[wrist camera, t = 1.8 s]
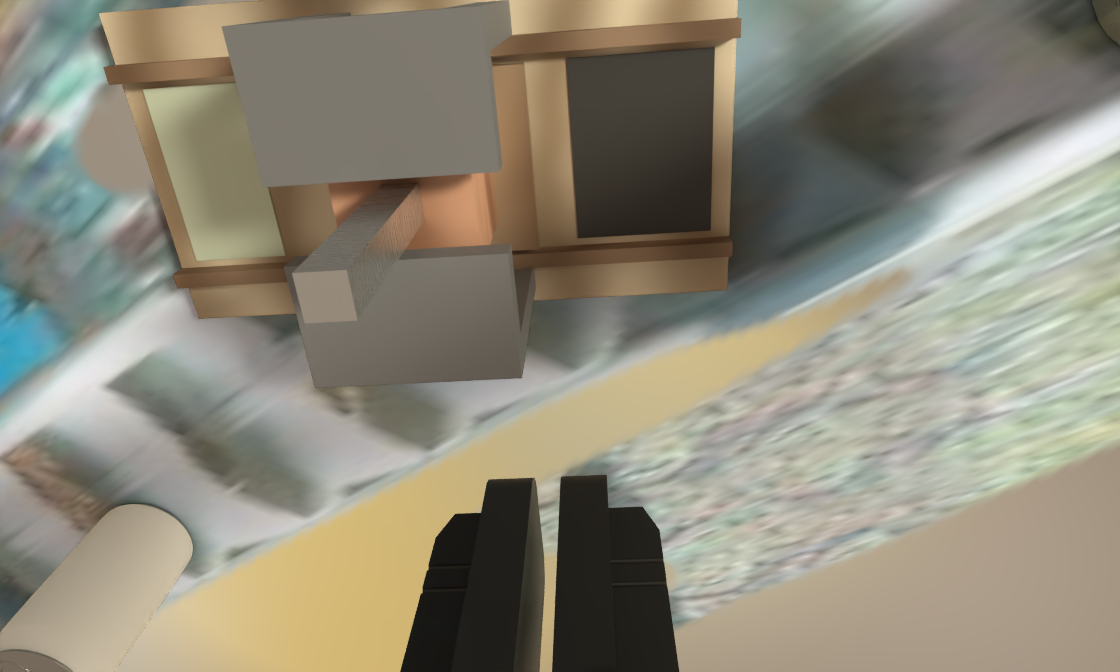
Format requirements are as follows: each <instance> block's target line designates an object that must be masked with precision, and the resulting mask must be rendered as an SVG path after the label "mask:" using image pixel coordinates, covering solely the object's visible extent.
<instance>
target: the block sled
mask: <svg viewBox="0 0 1120 672" xmlns="http://www.w3.org/2000/svg"><path fill="white" fill-rule="evenodd" d="M492 70H493V80H494V89H495V98H496V108H497V117H498V126H499V136H500V145H501V155H502V164H503V165H502V167H501V169H500V172H492V173H477V174H461V175H446V176H431V177H415V178H400V179H385V180H369V181H354V182H338V183H328V188H329V192H330V197H331V201H332V206H333V211H334V215H335V220H336V224H337V229H336V230H335V231H334V232H333V233H332V234H331V235H330V236H329V237H328V238H327V239H326V240H325V241H324V242H323V243H322V244H321V245H320V246H319V247H318V248H317V249H316V250H315V251H314V252H313V253H312V254H311V255H310V256H309V257H308V258H307V259H306V260H305V261H304V262H303V263H302V264H301V265H300V266H299V267H298V268H297V269H296V270H295V271H294V272H293V273H292V275H293V279H294V283H295V287H296V291H297V295H298V299H299V303H300V307H301V311H302V315H303V319H304V322H305V323H322V322H341V321H358V319H359V318H360V316H361V315H362V313H363V312H364V310H365V309H366V307H367V306H368V304H369V303H370V301H371V300H372V298H373V297H374V295H375V294H376V292H377V291H378V289H379V288H380V286H381V285H382V283H383V282H384V280H385V279H386V277H387V276H388V274H389V273H390V271H391V270H392V268H393V267H394V265H395V264H396V262H397V261H398V259H399V258H400V256H401V255H402V253H403V252H404V250H410V249H427V248H444V247H461V246H478V245H495V244H511V248H512V251H521V250H538V249H539V248H540V234H539V222H538V211H537V200H536V188H535V177H534V165H533V154H532V143H531V131H530V120H529V109H528V97H527V86H526V74H525V63H524V62H519V63H505V64H492Z"/></svg>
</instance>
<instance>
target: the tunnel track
mask: <svg viewBox="0 0 1120 672" xmlns="http://www.w3.org/2000/svg"><path fill="white" fill-rule="evenodd" d="M737 3H738V0H259V1H247V2H235V3H221V4H209V5H197V6H184V7H172V8H159V9H147V10H135V11H122V12H110V13H99V15H100V18H101V21H102V24H103V27H104V31H105V34H106V37H107V40H108V43H109V46H110V49H111V52H112V55H113V58H114V61H115V64H116V65H113V66H107V67H104V70H105V73H106V76H107V79H108V82H109V85H113V84H122V86H123V89H124V92H125V95H126V98H127V101H128V104H129V107H130V110H131V113H132V116H133V119H134V122H135V125H136V128H137V131H138V134H139V138H140V141H141V144H142V147H143V150H144V153H145V156H146V159H147V162H148V165H149V168H150V171H151V174H152V177H153V180H154V183H155V186H156V189H157V193H158V196H159V199H160V202H161V205H162V208H163V211H164V214H165V217H166V220H167V223H168V226H169V229H170V232H171V235H172V238H173V241H174V245H175V248H176V251H177V254H178V257H179V260H180V263H181V266H182V269H180V270H179V271H178V272H176V273H175V274H173V277H174V280H175V282H176V285H177V288H189V290H190V293H191V296H192V300H193V303H194V306H195V309H196V312H197V315H198V318H199V319H204V318H222V317H241V316H259V315H278V314H296V316H297V320H298V324H299V327H300V331H301V335H302V339H303V343H304V347H305V351H306V354H307V358H308V362H309V366H310V370H311V374H312V378H313V381H314V385H315V388H325V387H346V386H367V385H388V384H408V383H429V382H450V381H471V380H491V379H512V378H522V374H523V367H524V361H525V354H526V348H527V341H528V335H529V329H530V322H531V316H532V309H533V303H534V301H535V300H554V299H572V298H590V297H609V296H627V295H646V294H664V293H682V292H701V291H719V290H727V285H728V257H732V250H733V242H732V240H731V238H730V237H729V228H730V200H731V172H732V144H733V115H734V87H735V59H736V38H741V18H737ZM519 62H524V63H525V74H526V86H527V97H528V109H529V120H530V131H531V143H532V154H533V165H534V177H535V188H536V200H537V211H538V222H539V234H540V248H539V249H538V250H521V251H512V248H511V244H495V245H478V246H461V247H444V248H427V249H410V250H404V252H403V253H402V255H401V256H400V258H399V259H398V261H397V262H396V264H395V265H394V267H393V268H392V270H391V271H390V273H389V274H388V276H387V277H386V279H385V280H384V282H383V283H382V285H381V286H380V288H379V289H378V291H377V292H376V294H375V295H374V297H373V298H372V300H371V301H370V303H369V304H368V306H367V307H366V309H365V310H364V312H363V313H362V315H361V316H360V318H359V319H358V321H341V322H322V323H305V322H304V319H303V315H302V311H301V307H300V303H299V299H298V295H297V291H296V287H295V283H294V279H293V275H292V273H293V272H294V271H295V270H296V269H297V268H298V267H299V266H300V265H301V264H302V263H303V262H304V261H305V260H306V259H307V258H308V257H309V256H310V255H311V254H312V253H313V252H314V251H315V250H316V249H317V248H318V247H319V246H320V245H321V244H322V243H323V242H324V241H325V240H326V239H327V238H328V237H329V236H330V235H331V234H332V233H333V232H334V231H335V230H336V229H337V224H336V220H335V215H334V211H333V206H332V201H331V197H330V192H329V188H328V183H338V182H354V181H369V180H385V179H400V178H415V177H431V176H446V175H461V174H477V173H492V172H500V169H501V167H502V165H503V164H502V155H501V145H500V136H499V126H498V117H497V108H496V98H495V89H494V80H493V70H492V64H505V63H519Z"/></svg>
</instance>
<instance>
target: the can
mask: <svg viewBox="0 0 1120 672" xmlns="http://www.w3.org/2000/svg"><path fill="white" fill-rule="evenodd" d="M192 553H193V545H192V541H191V537H190V535H189V532H188V530H187V529H186V527H185V526H184V525H183V524H182V522H181V521H180V520H178V519H177V518H176V517H175V516H174V515H172V514H171V513H169V512H167V511H165V510H163V509H161V508H158V507H155V506H152V505H147V504H128V505H122V506H118V507H116V508H114V509H112V510H110V511H109V512H108V513H107V514H105V515H104V516H103V517H102V518H101V520H100V521H99V522H98V523H97V524H96V525H95V526H94V527H93V528H92V529H91V530H90V532H89V533H88V534H87V535H86V536H85V537H84V538H83V539H82V540H81V542H80V543H79V544H78V545H77V546H76V547H75V548H74V549H73V550H72V552H71V553H70V554H69V555H68V556H67V557H66V558H65V559H64V560H63V562H62V563H61V564H60V565H59V566H58V567H57V568H56V569H55V570H54V572H53V573H52V574H51V575H50V576H49V577H48V578H47V579H46V581H45V582H44V583H43V584H42V585H41V586H40V587H39V588H38V590H37V591H36V592H35V593H34V594H33V595H32V596H31V597H30V598H29V600H28V601H27V602H26V603H25V604H24V605H23V606H22V607H21V609H20V610H19V611H18V612H17V613H16V614H15V615H14V617H13V618H12V619H11V620H10V621H9V622H8V623H7V625H6V626H5V627H4V628H3V629H2V630H1V632H0V672H115V670H116V669H117V668H118V666H119V665H120V663H121V662H122V660H123V658H124V657H125V656H126V654H127V653H128V652H129V650H130V649H131V647H132V646H133V644H134V643H135V641H136V640H137V638H138V637H139V635H140V634H141V633H142V631H143V629H144V628H145V626H146V625H147V624H148V622H149V621H150V619H151V618H152V616H153V615H154V613H155V612H156V610H157V609H158V607H159V606H160V604H161V603H162V602H163V600H164V599H165V597H166V596H167V594H168V593H169V591H170V590H171V588H172V587H173V585H174V584H175V582H176V581H177V579H178V578H179V576H180V575H181V573H182V572H183V570H184V569H185V567H186V566H187V564H188V562H189V561H190V559H191V556H192Z"/></svg>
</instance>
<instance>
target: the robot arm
mask: <svg viewBox="0 0 1120 672" xmlns="http://www.w3.org/2000/svg"><path fill="white" fill-rule="evenodd" d="M1092 4H1093V7H1094V10H1095V13H1096V16H1097V19H1098V22H1099V23H1100V24H1101V26H1102V27H1103V29H1104V30H1105V32H1106V33H1107V35H1108V36H1109V37H1110V38H1111V39H1112V40H1113V41H1115V42H1116V43H1117V44H1118V45H1120V0H1092ZM544 574H545V573H544V553H543V543H542V533H541V524H540V515H539V506H538V496H537V487H536V481H535V478H518V479H493V480H488V482H487V485H486V491H485V496H484V501H483V506H482V511H481V513H466V514H455V515H454V516H453V517H452V518H451V520H450V521H449V522H448V524H447V525H446V526H445V527H444V528H443V530H442V531H441V532H440V533H439V534H438V536H437V537H436V539H435V543H434V546H433V550H432V554H431V558H430V562H429V570H428V571H427V573H426V577H425V580H424V584H423V593H422V594H421V596H420V599H419V603H418V607H417V611H416V614H415V618H414V622H413V626H412V630H411V633H410V637H409V641H408V645H407V648H406V653H405V656H404V660H403V664H402V667H401V671H400V672H539V669H540V653H541V637H542V621H543V605H544V585H545V575H544ZM552 672H679V667H678V661H677V653H676V646H675V638H674V631H673V624H672V617H671V610H670V603H669V595H668V588H667V583H666V574H665V567H664V562H663V553H662V546H661V538H660V531H659V529H658V527H657V526H656V525H655V523H654V522H653V521H652V519H651V518H650V516H649V515H648V514H647V512H646V511H645V510H644V508H643V507H623V508H608V492H607V475H589V476H564V477H561V484H560V506H559V529H558V551H557V575H556V596H555V620H554V643H553V665H552Z"/></svg>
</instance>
